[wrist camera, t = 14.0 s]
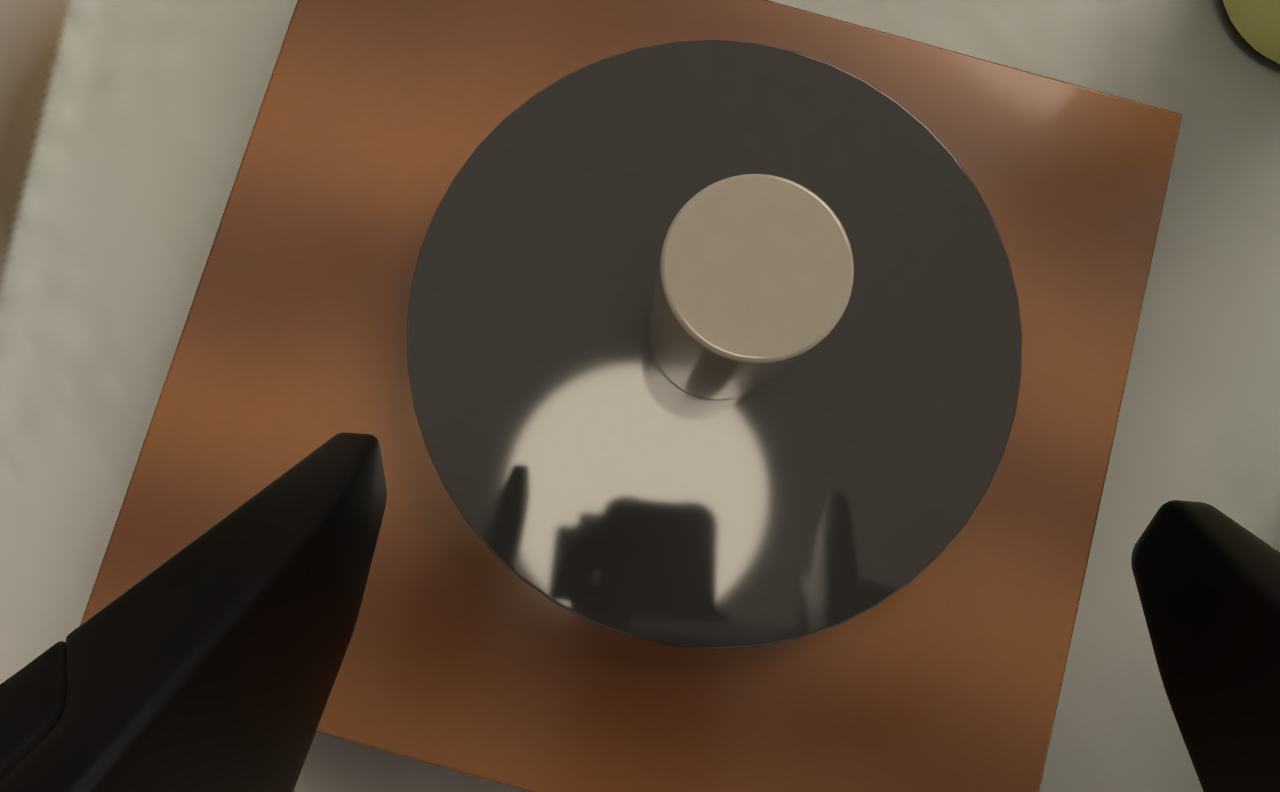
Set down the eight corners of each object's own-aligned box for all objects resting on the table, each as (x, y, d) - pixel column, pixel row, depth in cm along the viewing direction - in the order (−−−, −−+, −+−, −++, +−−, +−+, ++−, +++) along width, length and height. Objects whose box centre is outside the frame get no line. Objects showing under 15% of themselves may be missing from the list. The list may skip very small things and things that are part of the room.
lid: (1094, 503, 17) (1345, 512, 11) (545, 735, 17) (502, 877, 11) (859, -13, 19) (975, -252, 13) (336, 182, 18) (190, 27, 12)
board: (960, 872, 19) (1011, 930, 16) (137, 638, 19) (64, 662, 17) (1117, 157, 21) (1184, 113, 18) (370, -50, 21) (337, -120, 19)
